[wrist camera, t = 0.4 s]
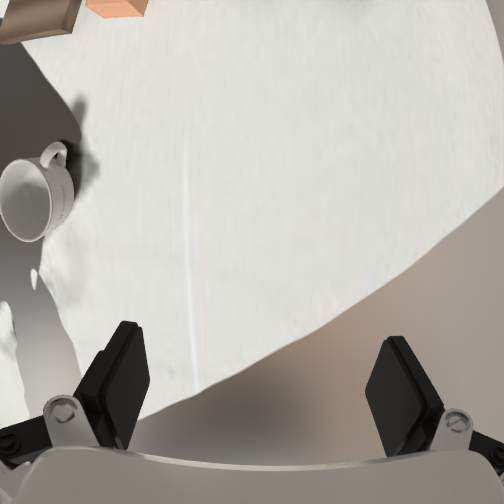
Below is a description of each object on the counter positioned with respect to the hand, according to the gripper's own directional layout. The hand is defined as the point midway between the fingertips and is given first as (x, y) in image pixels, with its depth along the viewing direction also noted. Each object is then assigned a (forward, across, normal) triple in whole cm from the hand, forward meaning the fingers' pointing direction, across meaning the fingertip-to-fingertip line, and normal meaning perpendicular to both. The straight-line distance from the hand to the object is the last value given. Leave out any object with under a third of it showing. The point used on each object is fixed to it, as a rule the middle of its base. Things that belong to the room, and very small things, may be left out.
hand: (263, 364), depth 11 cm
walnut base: (+30, +34, -31) cm, 55 cm away
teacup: (+30, +28, -1) cm, 41 cm away
